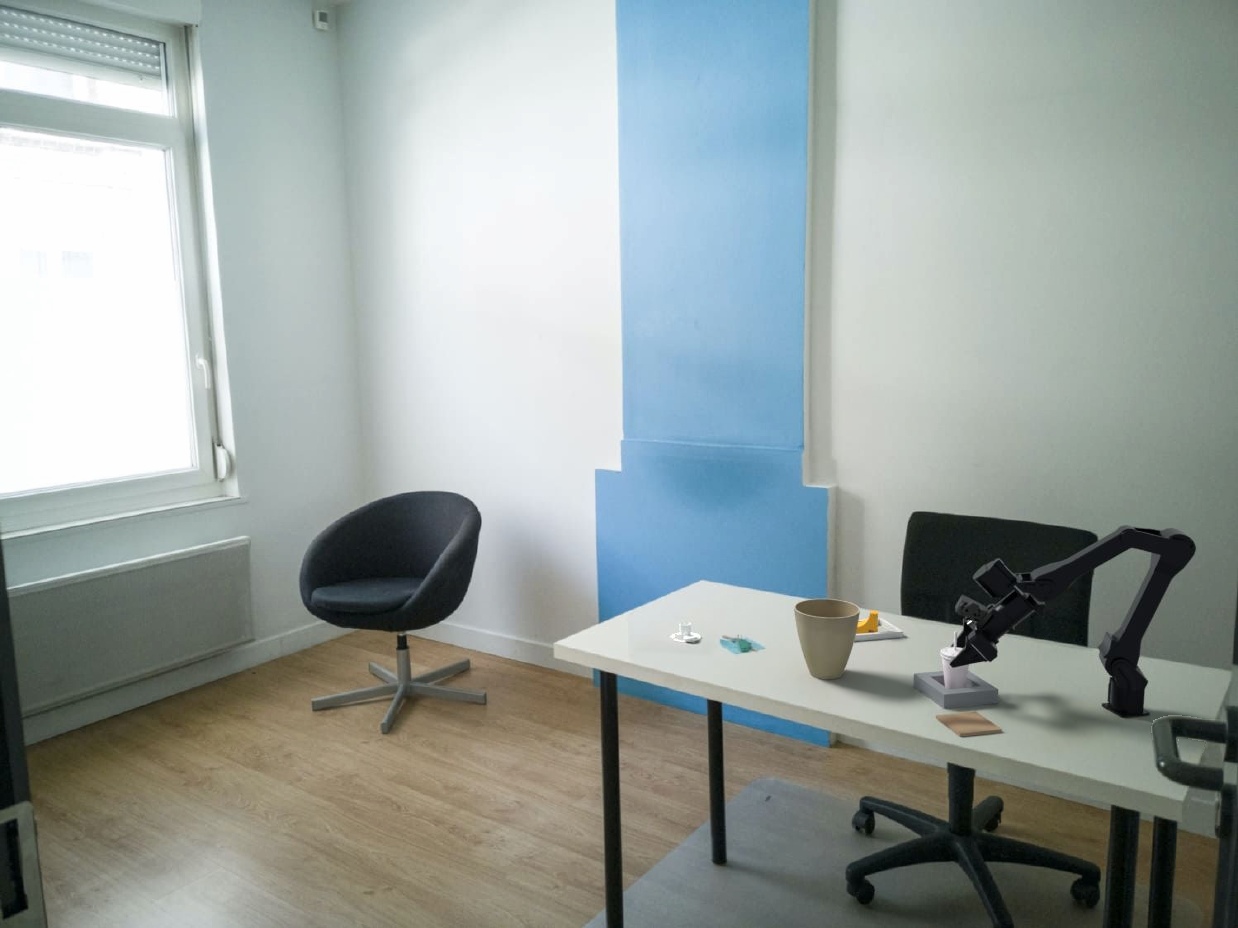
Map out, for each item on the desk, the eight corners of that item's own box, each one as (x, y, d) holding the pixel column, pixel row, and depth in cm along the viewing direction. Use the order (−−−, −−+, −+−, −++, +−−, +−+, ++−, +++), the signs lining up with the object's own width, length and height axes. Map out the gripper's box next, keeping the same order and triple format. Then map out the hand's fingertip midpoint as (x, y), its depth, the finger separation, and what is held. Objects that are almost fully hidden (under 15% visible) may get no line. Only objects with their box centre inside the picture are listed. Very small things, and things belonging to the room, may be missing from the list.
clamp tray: (903, 637, 237) (903, 631, 237) (838, 642, 234) (838, 636, 234) (881, 623, 249) (881, 618, 249) (819, 628, 246) (819, 623, 246)
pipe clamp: (877, 632, 242) (878, 609, 241) (877, 638, 238) (877, 613, 237) (831, 629, 246) (831, 605, 245) (829, 634, 241) (830, 610, 241)
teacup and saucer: (699, 645, 235) (698, 630, 235) (668, 644, 237) (668, 628, 236) (702, 634, 244) (702, 619, 243) (672, 633, 245) (672, 618, 245)
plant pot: (781, 667, 217) (782, 602, 215) (835, 659, 222) (836, 595, 220) (814, 689, 203) (815, 620, 201) (872, 680, 208) (873, 612, 206)
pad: (1001, 732, 180) (1001, 729, 180) (960, 736, 178) (960, 733, 178) (975, 714, 188) (975, 711, 188) (935, 718, 187) (935, 715, 187)
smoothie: (963, 688, 202) (965, 627, 200) (975, 699, 196) (977, 636, 194) (934, 689, 202) (936, 628, 200) (945, 700, 196) (947, 637, 194)
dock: (998, 702, 194) (998, 689, 194) (943, 708, 192) (944, 694, 191) (964, 681, 206) (965, 668, 206) (913, 686, 204) (913, 673, 204)
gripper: (977, 574, 203) (923, 618, 208) (982, 597, 186) (923, 644, 190) (1014, 611, 202) (959, 655, 207) (1022, 638, 184) (962, 685, 189)
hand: (950, 658), depth 198 cm, fingers open, 9 cm apart
